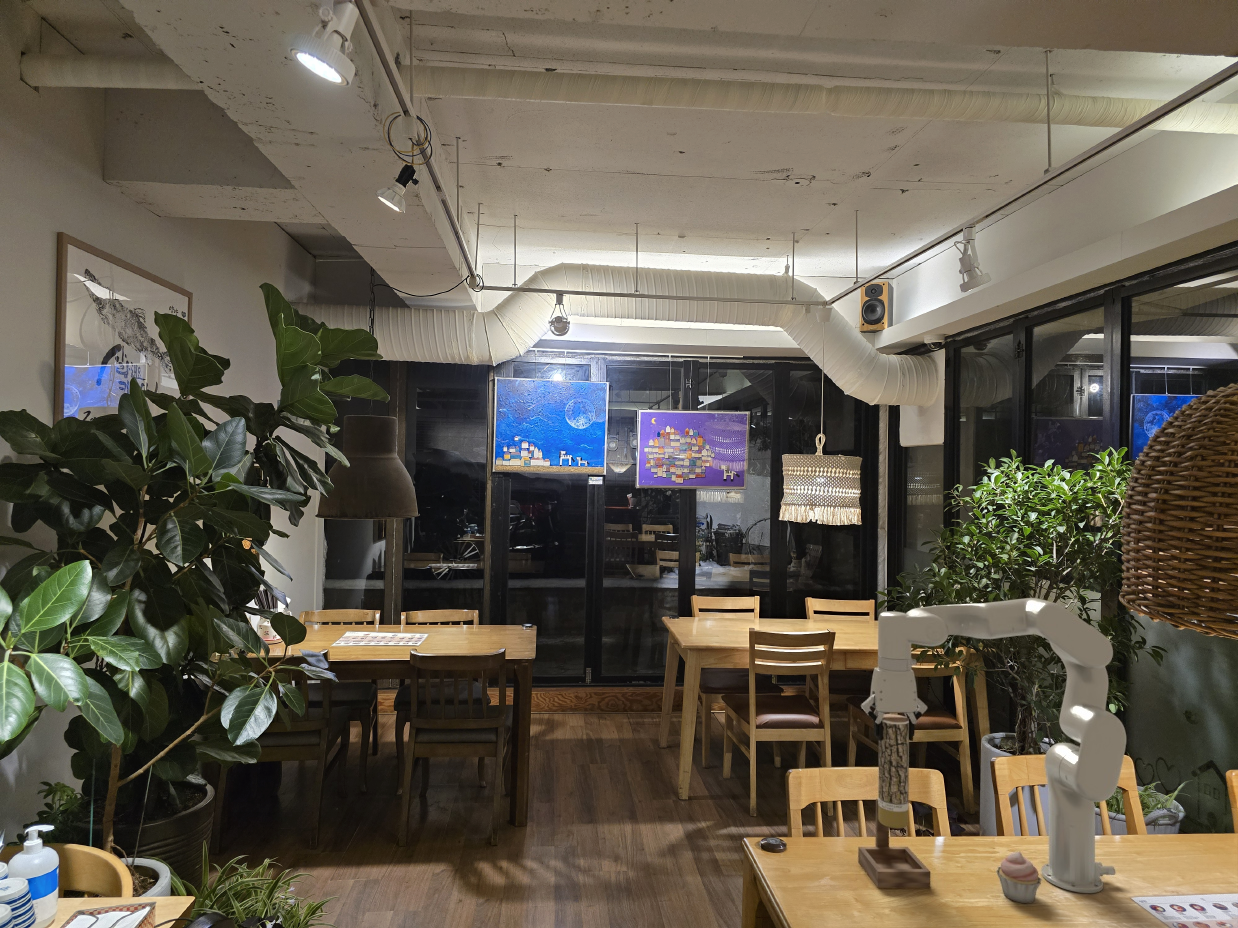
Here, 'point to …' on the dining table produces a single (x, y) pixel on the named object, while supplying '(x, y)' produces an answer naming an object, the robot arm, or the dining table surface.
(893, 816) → the paper tube
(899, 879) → the holder
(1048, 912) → the dining table surface
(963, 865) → the dining table surface
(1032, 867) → the cupcake
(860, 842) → the dining table surface
